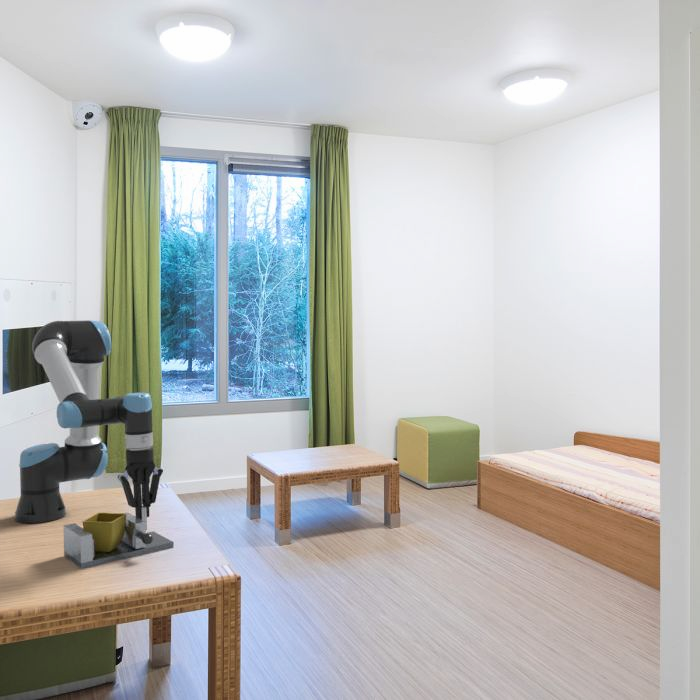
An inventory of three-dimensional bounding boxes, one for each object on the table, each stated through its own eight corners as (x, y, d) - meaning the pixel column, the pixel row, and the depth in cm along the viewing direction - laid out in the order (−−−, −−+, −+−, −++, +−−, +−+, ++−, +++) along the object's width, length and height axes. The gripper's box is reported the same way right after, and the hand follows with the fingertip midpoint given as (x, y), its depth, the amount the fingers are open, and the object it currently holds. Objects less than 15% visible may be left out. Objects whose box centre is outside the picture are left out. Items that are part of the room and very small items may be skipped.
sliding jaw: (116, 538, 198) (115, 514, 198) (128, 536, 200) (127, 512, 200) (142, 554, 184) (142, 529, 184) (155, 551, 187) (154, 526, 186)
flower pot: (81, 553, 186) (81, 520, 186) (98, 543, 195) (98, 511, 194) (112, 555, 185) (111, 522, 184) (127, 545, 193) (127, 513, 193)
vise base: (64, 556, 189) (63, 525, 189) (153, 536, 206) (153, 508, 206) (81, 568, 179) (80, 536, 179) (173, 547, 196) (173, 517, 196)
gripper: (123, 453, 188) (127, 537, 190) (166, 446, 197) (169, 527, 198) (112, 449, 194) (116, 531, 195) (154, 442, 202) (158, 521, 204)
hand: (143, 529), depth 197 cm, fingers closed
